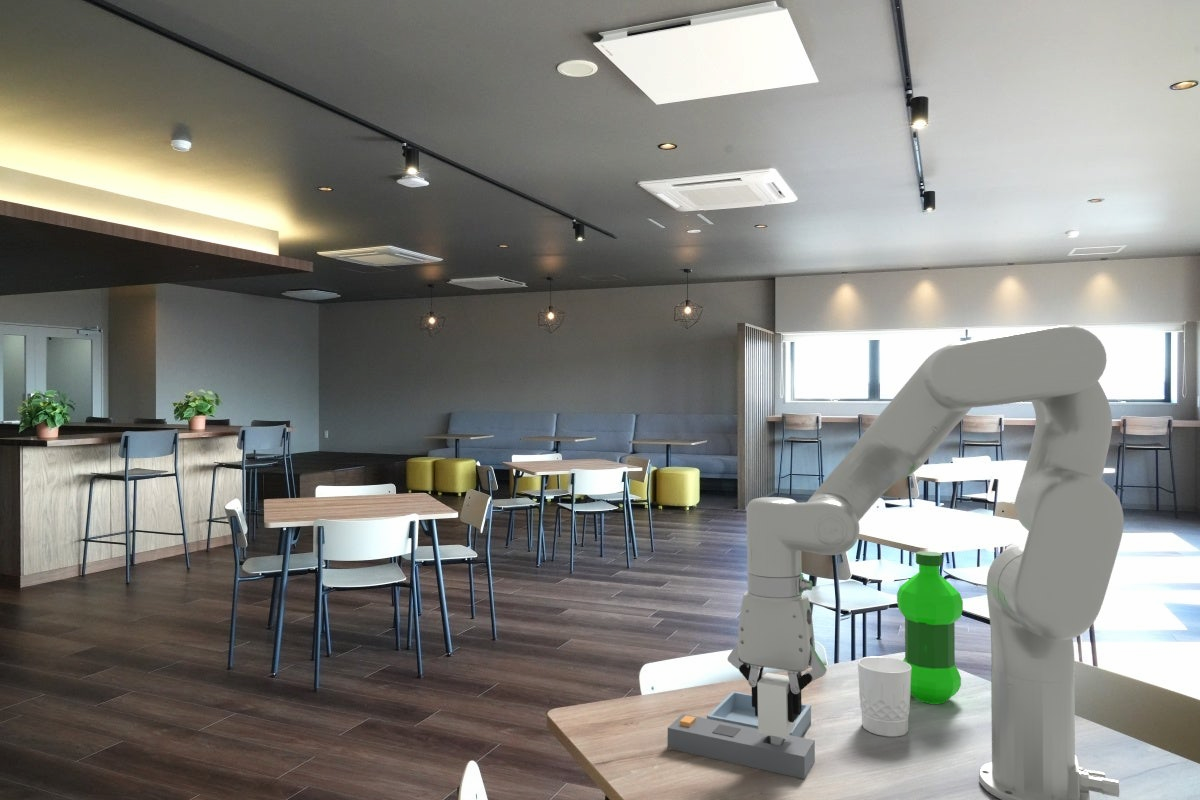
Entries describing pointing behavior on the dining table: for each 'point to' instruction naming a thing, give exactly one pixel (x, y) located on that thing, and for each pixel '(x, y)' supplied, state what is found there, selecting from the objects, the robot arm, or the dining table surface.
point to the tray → (753, 713)
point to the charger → (774, 707)
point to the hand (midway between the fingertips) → (776, 714)
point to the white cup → (884, 695)
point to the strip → (741, 745)
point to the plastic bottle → (930, 630)
